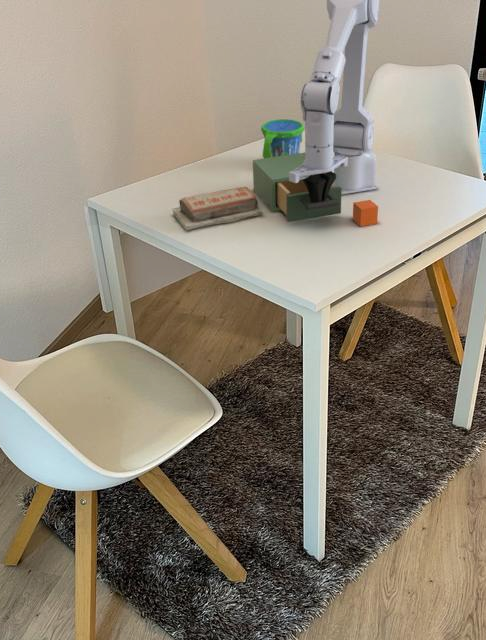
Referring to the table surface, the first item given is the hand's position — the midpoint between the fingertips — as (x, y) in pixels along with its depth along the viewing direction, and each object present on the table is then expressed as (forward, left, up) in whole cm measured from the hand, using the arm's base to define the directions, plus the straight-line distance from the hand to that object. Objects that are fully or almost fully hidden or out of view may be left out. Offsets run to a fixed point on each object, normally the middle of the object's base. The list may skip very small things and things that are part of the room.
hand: (318, 206), depth 155 cm
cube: (-10, +2, -4) cm, 11 cm away
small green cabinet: (0, -17, -4) cm, 18 cm away
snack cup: (-6, -38, -4) cm, 39 cm away
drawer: (0, -6, -3) cm, 7 cm away
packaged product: (+19, -13, -4) cm, 23 cm away
